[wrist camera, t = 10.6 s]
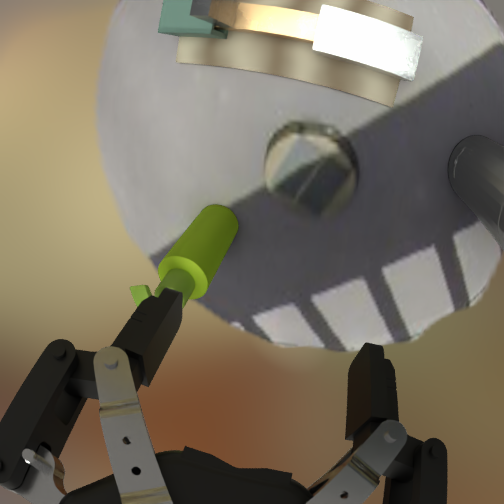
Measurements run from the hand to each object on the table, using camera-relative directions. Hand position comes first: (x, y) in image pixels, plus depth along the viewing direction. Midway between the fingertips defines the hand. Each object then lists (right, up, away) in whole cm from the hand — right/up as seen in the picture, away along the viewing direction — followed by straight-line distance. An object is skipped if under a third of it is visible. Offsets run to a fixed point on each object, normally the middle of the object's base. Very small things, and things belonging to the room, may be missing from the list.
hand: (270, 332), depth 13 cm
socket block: (-6, +31, +16) cm, 35 cm away
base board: (+4, +28, +15) cm, 32 cm away
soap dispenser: (-6, +8, +31) cm, 32 cm away
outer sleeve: (+11, +26, +14) cm, 32 cm away
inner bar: (+2, +27, +13) cm, 30 cm away
